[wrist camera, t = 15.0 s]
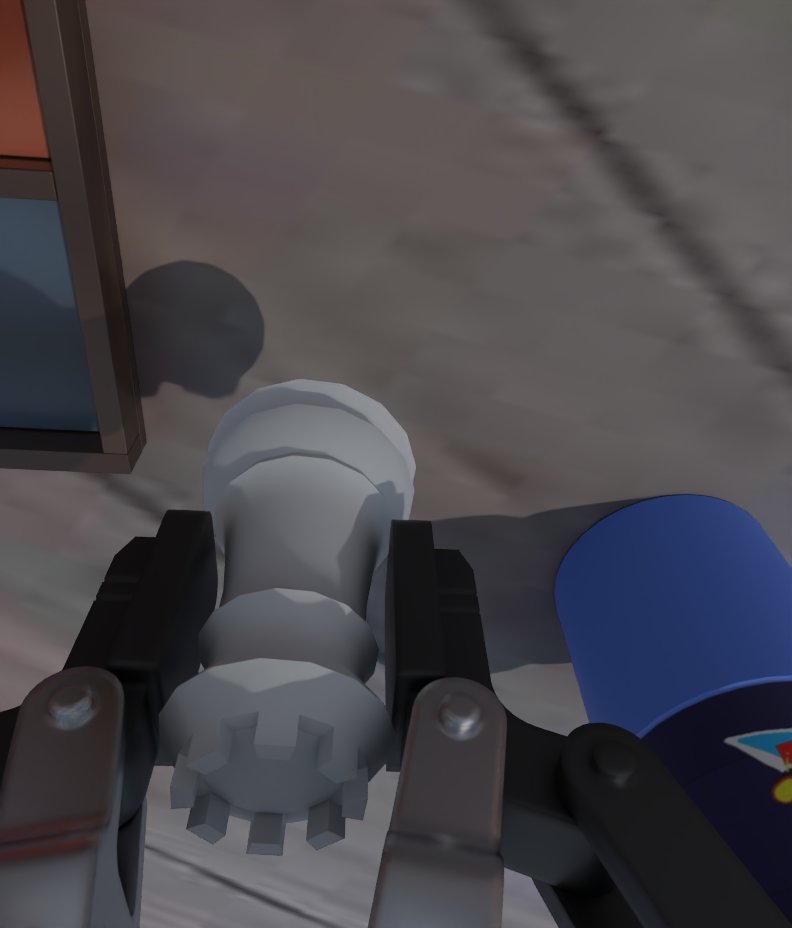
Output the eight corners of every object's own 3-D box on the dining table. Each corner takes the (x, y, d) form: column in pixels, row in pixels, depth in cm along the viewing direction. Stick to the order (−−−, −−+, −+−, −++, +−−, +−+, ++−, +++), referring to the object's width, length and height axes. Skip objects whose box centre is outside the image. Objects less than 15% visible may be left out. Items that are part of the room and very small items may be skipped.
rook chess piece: (446, 496, 17) (494, 843, 10) (277, 561, 18) (217, 917, 11) (358, 333, 14) (343, 642, 8) (169, 418, 15) (9, 758, 9)
